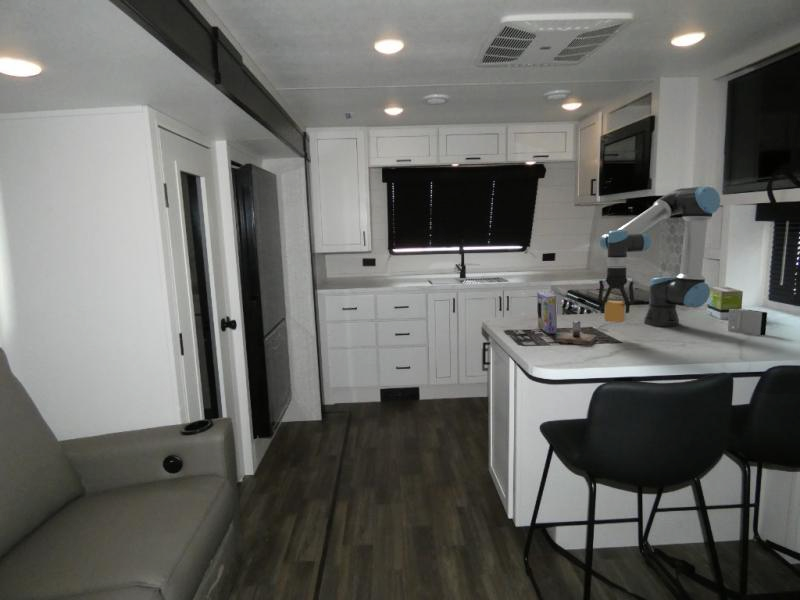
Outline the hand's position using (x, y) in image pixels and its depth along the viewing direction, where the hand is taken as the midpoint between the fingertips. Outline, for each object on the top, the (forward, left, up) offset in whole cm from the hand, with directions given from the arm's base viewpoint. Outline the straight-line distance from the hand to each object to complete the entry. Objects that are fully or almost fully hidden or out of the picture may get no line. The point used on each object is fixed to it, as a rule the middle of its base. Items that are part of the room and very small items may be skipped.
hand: (615, 319), depth 214 cm
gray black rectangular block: (-48, -37, -9) cm, 61 cm away
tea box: (-39, -74, -9) cm, 84 cm away
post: (+13, +12, -6) cm, 19 cm away
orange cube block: (0, 0, 0) cm, 0 cm away
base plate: (+13, +12, -8) cm, 20 cm away
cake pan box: (+31, -4, -9) cm, 33 cm away
